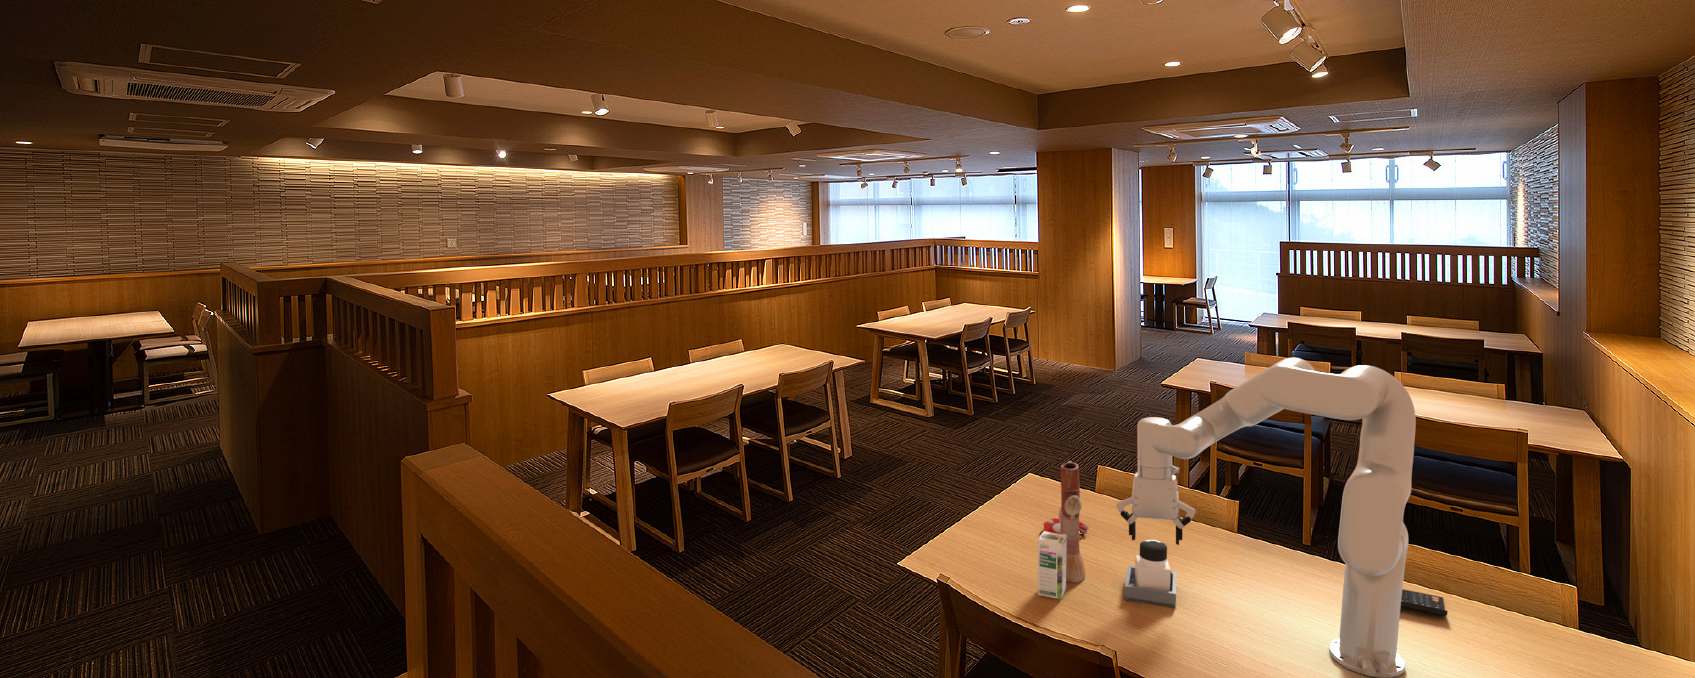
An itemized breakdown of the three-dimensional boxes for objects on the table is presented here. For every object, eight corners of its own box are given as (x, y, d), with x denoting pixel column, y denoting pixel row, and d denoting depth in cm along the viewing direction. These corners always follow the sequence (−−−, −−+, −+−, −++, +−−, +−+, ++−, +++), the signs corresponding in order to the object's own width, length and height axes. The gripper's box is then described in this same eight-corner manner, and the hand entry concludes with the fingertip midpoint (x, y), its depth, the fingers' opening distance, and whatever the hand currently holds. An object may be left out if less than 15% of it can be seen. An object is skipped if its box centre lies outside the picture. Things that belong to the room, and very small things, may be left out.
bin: (1175, 608, 176) (1176, 593, 176) (1124, 599, 181) (1124, 586, 180) (1176, 585, 186) (1176, 572, 186) (1127, 578, 191) (1128, 565, 190)
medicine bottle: (1170, 598, 179) (1172, 550, 177) (1138, 596, 181) (1139, 548, 179) (1165, 584, 186) (1167, 537, 184) (1134, 581, 187) (1135, 535, 185)
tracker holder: (1057, 541, 211) (1035, 521, 219) (1058, 553, 213) (1035, 533, 221) (1092, 524, 215) (1068, 504, 223) (1092, 536, 217) (1069, 516, 225)
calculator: (1442, 600, 175) (1443, 588, 175) (1446, 624, 166) (1447, 611, 166) (1392, 590, 181) (1393, 578, 180) (1393, 612, 171) (1394, 600, 171)
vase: (1057, 566, 199) (1058, 455, 194) (1086, 570, 196) (1088, 458, 191) (1052, 585, 189) (1053, 469, 184) (1083, 589, 186) (1084, 472, 181)
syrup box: (1037, 595, 184) (1037, 539, 182) (1043, 584, 189) (1043, 529, 187) (1061, 600, 182) (1061, 543, 179) (1066, 589, 187) (1067, 533, 184)
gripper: (1195, 468, 178) (1195, 537, 181) (1117, 463, 185) (1118, 530, 188) (1195, 478, 171) (1195, 551, 174) (1114, 473, 178) (1115, 542, 181)
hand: (1155, 540), depth 181 cm, fingers open, 9 cm apart
